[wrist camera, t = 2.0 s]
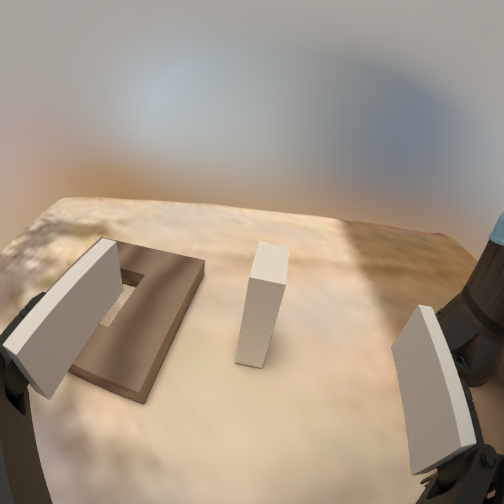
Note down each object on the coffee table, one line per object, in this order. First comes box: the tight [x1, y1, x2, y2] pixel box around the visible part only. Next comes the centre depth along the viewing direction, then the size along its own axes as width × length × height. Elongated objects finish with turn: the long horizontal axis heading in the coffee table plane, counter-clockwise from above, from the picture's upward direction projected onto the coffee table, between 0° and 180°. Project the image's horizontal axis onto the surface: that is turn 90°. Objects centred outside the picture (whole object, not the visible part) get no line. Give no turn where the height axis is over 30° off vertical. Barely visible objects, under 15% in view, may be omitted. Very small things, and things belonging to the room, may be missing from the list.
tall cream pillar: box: [235, 241, 289, 368], centre depth 29 cm, size 3×6×12 cm, turn 171°
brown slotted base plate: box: [45, 237, 205, 404], centre depth 32 cm, size 18×22×2 cm
